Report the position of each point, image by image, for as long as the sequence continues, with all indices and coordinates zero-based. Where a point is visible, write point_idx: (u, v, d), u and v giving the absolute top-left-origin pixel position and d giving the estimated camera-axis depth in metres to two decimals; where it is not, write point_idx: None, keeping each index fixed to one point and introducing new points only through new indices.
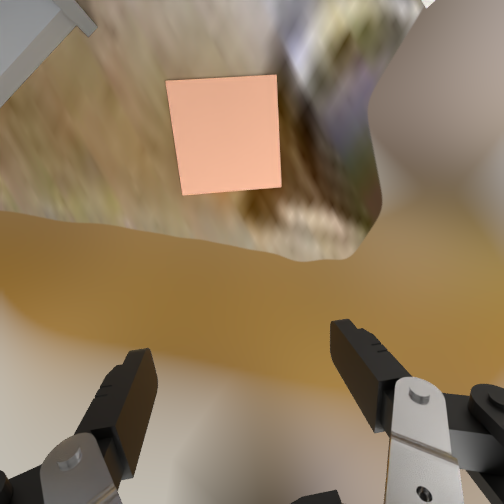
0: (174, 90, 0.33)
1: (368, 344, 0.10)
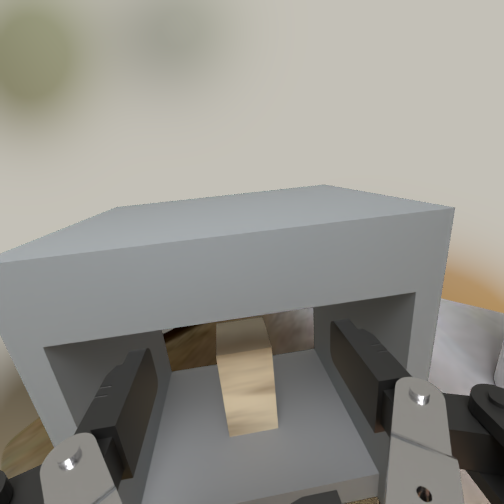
0: None
1: (368, 344, 0.10)
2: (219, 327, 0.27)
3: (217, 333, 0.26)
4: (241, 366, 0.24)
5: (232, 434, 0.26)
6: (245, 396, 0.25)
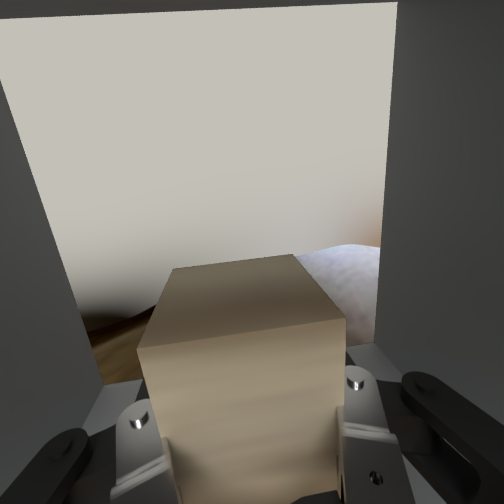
0: None
1: None
2: (178, 275, 0.10)
3: (169, 286, 0.09)
4: (236, 387, 0.07)
5: None
6: (248, 480, 0.08)
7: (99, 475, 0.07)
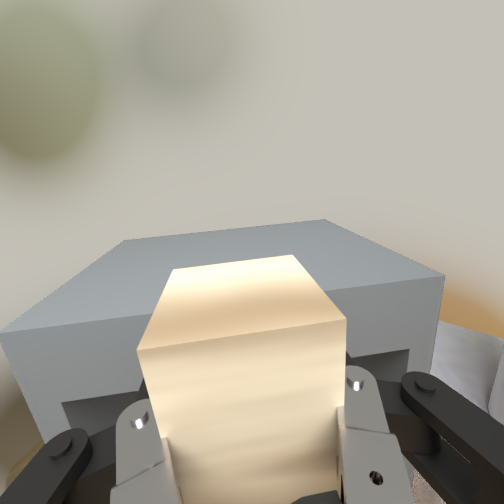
0: None
1: None
2: (178, 276, 0.10)
3: (169, 286, 0.09)
4: (236, 388, 0.07)
5: None
6: (248, 482, 0.08)
7: (99, 475, 0.07)
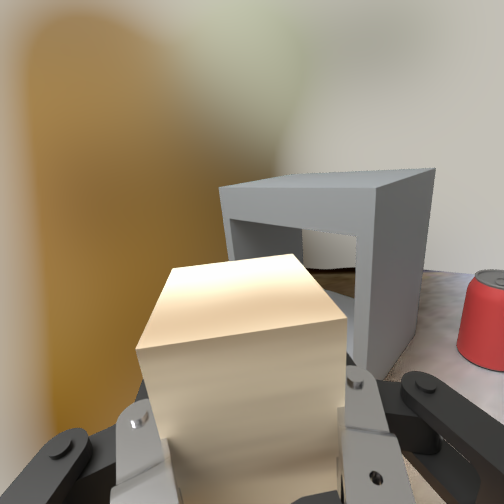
0: None
1: None
2: (178, 275, 0.10)
3: (169, 285, 0.09)
4: (236, 387, 0.07)
5: None
6: (248, 482, 0.08)
7: (99, 475, 0.07)
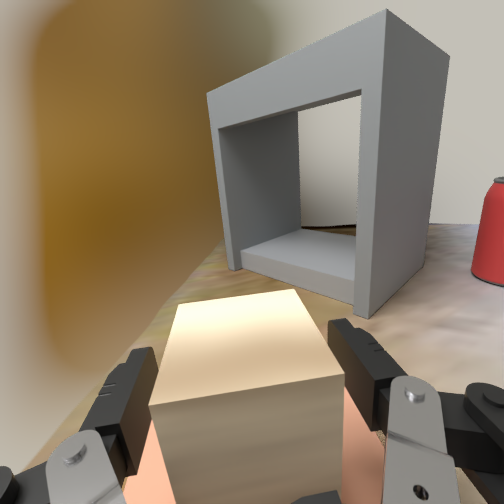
0: None
1: (365, 343, 0.10)
2: (184, 313, 0.10)
3: (176, 327, 0.10)
4: (241, 436, 0.07)
5: None
6: None
7: None
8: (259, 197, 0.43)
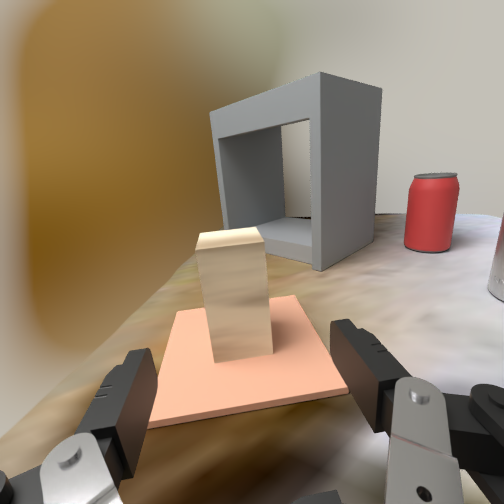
0: (287, 300, 0.31)
1: (368, 344, 0.10)
2: (203, 234, 0.23)
3: (201, 237, 0.22)
4: (227, 266, 0.19)
5: (217, 359, 0.22)
6: (232, 308, 0.20)
7: None
8: (250, 190, 0.55)
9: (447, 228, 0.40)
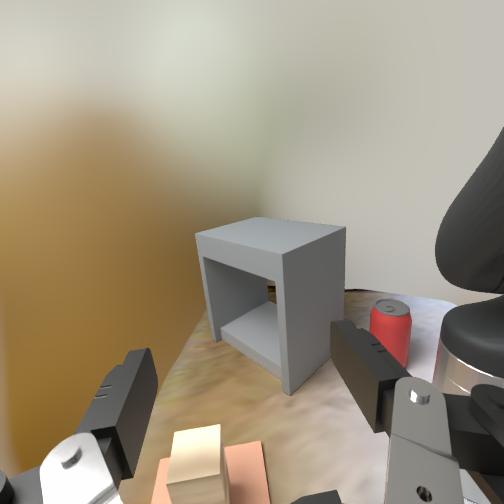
0: (253, 449, 0.36)
1: (368, 344, 0.10)
2: (176, 439, 0.28)
3: (173, 447, 0.27)
4: (191, 490, 0.25)
5: None
6: None
7: None
8: (234, 289, 0.61)
9: (401, 355, 0.46)
